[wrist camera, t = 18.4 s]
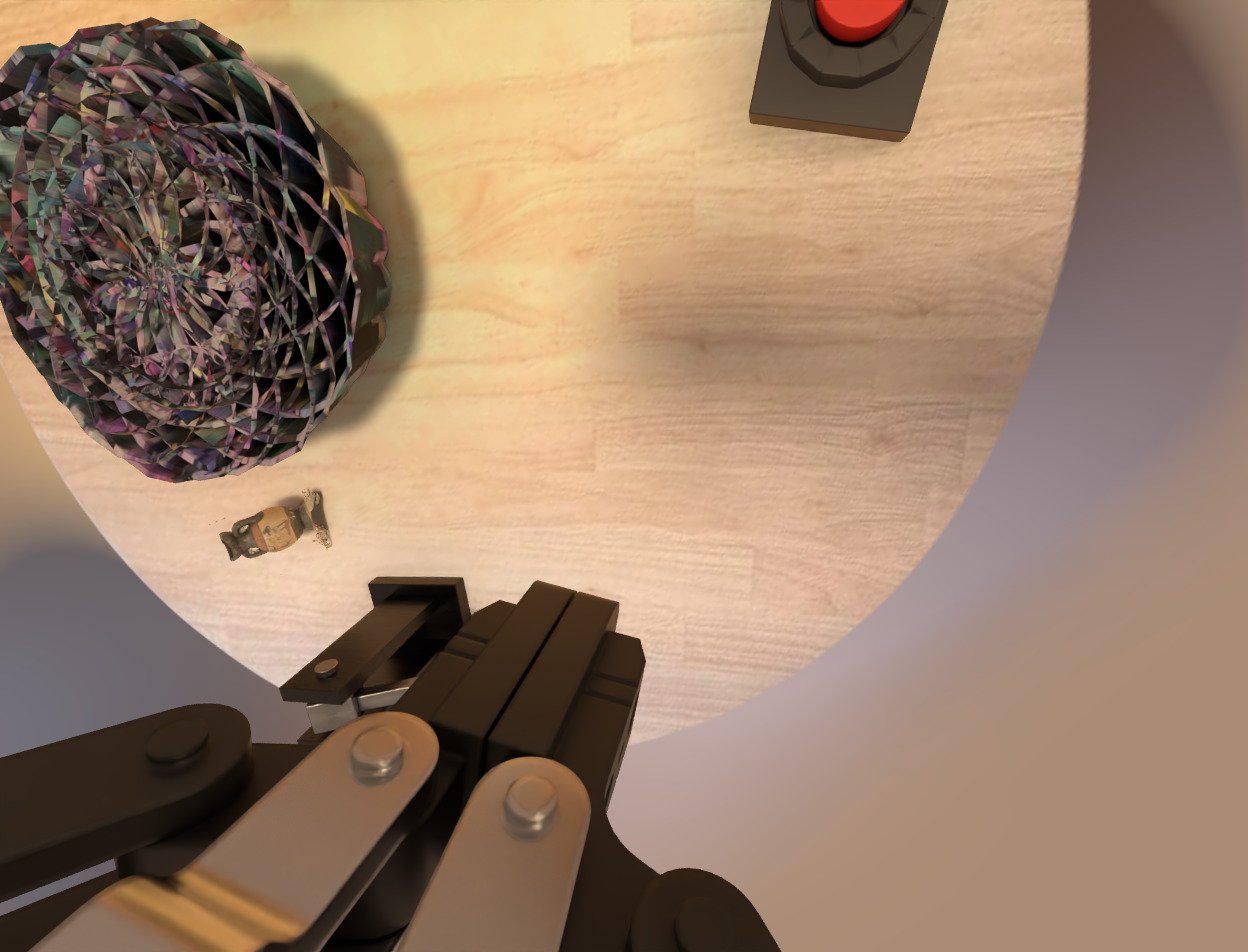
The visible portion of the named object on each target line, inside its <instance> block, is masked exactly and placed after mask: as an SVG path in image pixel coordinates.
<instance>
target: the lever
mask: <svg viewBox="0 0 1248 952" xmlns="http://www.w3.org/2000/svg"><path fill="white" fill-rule="evenodd" d="M417 678H418V677H414V678H409V679H404V680H399V681H394V682H389V683H384V684H379V685H374V686H369V687H363V685H362V686H361V687H360V688H359V689H358V690H357V691H356V692H355V693H354V694H353V695H352V696H351V697H350V698H349V699H348V700H347V701H346V702H345V703H344V704H343V705H330V704H316V703H307V705H306V710H307V713H308V716H309V719H310V722H311V725H312V728H313V731H314V734H319V733H324V732H329V731H334V730H336V729H338V728H339V727H341V726H342V725H344V724H345V723H347V722H349V721H351V720H353V719H356V718H358V717H361V716H363V714H364V711H365V710H369V709H373V708H378V707H383V706H388V705H393V704H395V703H396V702H397V701H398V700H399V699H400V698H401V696H402V695H403V694H404V693H405V692H406V691H407V690H408V688H409V687H410V686H411V685H412V684H413V683H414V682H415V680H416V679H417Z"/></svg>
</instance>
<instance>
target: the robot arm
mask: <svg viewBox="0 0 1248 952" xmlns="http://www.w3.org/2000/svg"><path fill="white" fill-rule="evenodd" d="M618 613H619V602H616V601H612V600H608V599H605V598H601V597H597V596H594V595H590V594H586V593H583V592H578V593H577V591H575V590H571V589H567V588H564V587H560V586H556V585H552V584H549V583H545V582H541V581H538V580H537V581H535V582H534V583H533V584H532V585H531V587H530V588H529V589H528V591H527V592H526V593H525V594H524V596H523V597H522V598H521V600H520V601H519V602H518V604H517V605H516V604H512V603H509V602H505V601H502V600H499V601H497V602H495V603H493V604H491V605H489V606H487V607H485V608H483V609H481V610H479V611H477V612H475V613H474V614H473V615H472V617H471V618H470V619H469V620H468V621H467V622H466V623H465V625H464V626H463V627H462V628H461V629H460V630H459V632H458V635H455V636H454V637H453V638H452V639H451V640H450V642H449V643H448V644H447V645H446V646H445V649H444V651H441V652H440V653H439V654H438V655H437V656H436V658H435V659H434V660H433V661H432V662H431V663H430V664H429V666H428V667H427V668H426V669H425V670H424V671H423V672H422V674H421V675H420V676H419V677H418V678H417V679H416V680H415V682H414V683H413V684H412V685H411V686H410V687H409V688H408V690H407V691H406V692H405V693H404V694H403V695H402V696H401V698H400V699H399V700H398V701H397V702H396V703H395V704H394V706H393V707H392V708H391V709H390V710H389V711H387V712H377V713H372V714H367V715H364V716H361V717H358V718H356V719H353V720H351V721H349V722H347V723H345V724H344V725H342V726H341V727H339V728H338V729H336V730H335V731H334V732H333V733H331V734H330V735H329V736H328V737H327V738H326V739H325V740H324V741H323V742H321V743H320V744H307V745H304V744H268V743H267V744H266V743H252V741H251V732H250V731H251V730H250V724H249V722H248V719H247V718H246V717H245V716H244V715H243V714H242V713H241V712H240V711H238V710H237V709H234V708H232V707H229V706H225V705H220V704H194V705H187V706H183V707H178V708H174V709H170V710H167V711H164V712H160V713H156V714H153V715H150V716H146V717H142V718H139V719H136V720H132V721H128V722H125V723H121V724H118V725H115V726H111V727H107V728H104V729H100V730H97V731H93V732H90V733H86V734H83V735H79V736H76V737H72V738H69V739H65V740H62V741H58V742H55V743H51V744H48V745H44V746H41V747H37V748H34V749H30V750H27V751H23V752H20V753H16V754H13V755H9V756H6V757H2V758H0V903H1V902H4V901H7V900H9V899H12V898H14V897H17V896H19V895H22V894H24V893H27V892H29V891H32V890H35V889H37V888H39V887H42V886H45V885H47V884H50V883H52V882H55V881H57V880H60V879H63V878H65V877H68V876H70V875H73V874H75V873H78V872H80V871H83V870H85V869H88V868H90V867H93V866H96V865H98V864H101V863H103V862H106V861H108V860H111V859H114V861H115V865H116V870H114V871H111V872H109V873H106V874H104V875H101V876H99V877H96V878H94V879H91V880H89V881H86V882H84V883H81V884H79V885H77V886H74V887H71V888H69V889H66V890H64V891H61V892H59V893H57V894H54V895H52V896H49V897H46V898H44V899H42V900H39V901H37V902H34V903H32V904H29V905H27V906H24V907H22V908H19V909H17V910H15V911H12V912H10V913H7V914H4V915H2V916H0V952H781V950H780V948H779V947H778V945H777V943H776V942H775V940H774V938H773V937H772V935H771V934H770V932H769V930H768V928H767V927H766V925H765V923H764V922H763V920H762V918H761V917H760V915H759V913H758V912H757V911H756V909H755V908H754V906H753V905H752V903H751V902H750V901H749V900H748V899H747V898H746V897H745V895H744V894H743V893H742V892H741V891H739V890H738V889H737V888H736V887H735V886H734V885H732V884H731V883H729V882H728V881H726V880H724V879H723V878H722V877H719V876H717V875H715V874H713V873H710V872H707V871H704V870H700V869H692V868H681V869H675V870H671V871H667V872H665V873H663V874H661V875H660V874H658V873H657V872H656V871H654V870H653V869H652V868H650V867H649V866H647V865H646V864H645V863H644V862H642V861H641V860H639V859H638V858H637V857H636V856H635V855H633V854H632V853H631V852H630V851H629V850H628V849H627V848H626V847H625V846H624V845H623V844H622V843H621V842H620V840H619V839H618V837H617V836H616V834H615V833H614V832H613V829H612V827H611V825H610V823H609V821H608V817H607V814H606V813H607V810H608V806H609V803H610V800H611V797H612V793H613V790H614V786H615V783H616V779H617V777H618V774H619V770H620V767H621V764H622V760H623V757H624V754H625V750H626V747H627V744H628V741H629V737H630V734H631V730H632V725H633V721H634V716H635V711H636V706H637V701H638V697H639V692H640V687H641V682H642V678H643V673H644V668H645V663H646V660H645V656H644V653H643V649H642V645H641V641H640V639H638V638H634V637H631V636H627V635H624V634H620V633H616V632H615V629H616V624H617V619H618Z"/></svg>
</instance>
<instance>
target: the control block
mask: <svg viewBox="0 0 1248 952" xmlns="http://www.w3.org/2000/svg"><path fill="white" fill-rule="evenodd" d="M947 3H948V0H905V2H904V4H903V6H902V8H901V10H900V12H899V13H898V15H897V16H896V18H895V19H894V20H893V21H892V23H891V24H890V25H889V26H888V27H887V28H885V29H884V30H883V31H882V32H880V33H879V34H877V35H875V36H874V37H872V38H869V39H867V40H863V41H858V42H847V41H842V40H839V39H837V38H835V37H833V36H832V35H831V34H829V33H828V32H827V31H826V30H825V29H824V27H823V26H822V24H821V22H820V20H819V18H818V15H817V12H816V6H815V0H772V2H771V7H770V12H769V17H768V22H767V27H766V32H765V36H764V41H763V46H762V51H761V56H760V61H759V66H758V71H757V76H756V81H755V86H754V91H753V96H752V100H751V105H750V110H749V114H750V122H751V123H754V124H762V125H770V126H778V127H785V128H793V129H801V130H809V131H817V132H824V133H832V134H840V135H848V136H856V137H863V138H871V139H879V140H887V141H895V142H901V141H902V140H903V139H904V138H905V137H906V136H907V135H908V134H909V132H910V130H911V126H912V123H913V120H914V116H915V113H916V109H917V106H918V102H919V99H920V96H921V92H922V89H923V85H924V82H925V78H926V75H927V72H928V68H929V65H930V61H931V58H932V54H933V51H934V47H935V44H936V41H937V37H938V34H939V30H940V27H941V23H942V20H943V17H944V13H945V10H946V6H947Z"/></svg>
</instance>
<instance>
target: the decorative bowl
mask: <svg viewBox="0 0 1248 952" xmlns="http://www.w3.org/2000/svg"><path fill="white" fill-rule="evenodd" d="M387 252H388V247H387V240H386V233H385V231H384V229H383V228H382V226H381V225H380V223H379V222H378V220H377V219H376V218H375V217H373V216H372V215H371V214H370V213H369V212H367V195H366V188H365V181H364V176H363V175H362V173H361V171H360V170H359V168H358V166H357V165H356V163H355V161H354V160H353V158H352V157H351V156H350V155H349V154H348V153H347V152H346V151H345V150H344V149H343V148H342V147H341V146H340V145H339V144H338V143H337V142H336V141H335V140H334V139H332V138H331V137H330V136H329V135H328V134H327V133H326V132H325V131H324V130H323V129H322V128H321V127H320V126H319V125H318V124H317V123H316V122H315V121H314V120H313V119H312V118H311V117H310V116H309V115H308V114H307V113H306V112H305V111H304V110H303V109H302V107H301V105H300V104H299V102H298V101H297V99H296V97H295V96H294V94H293V93H292V91H291V89H290V88H289V86H287V85H286V84H284V83H282V82H281V81H279V80H278V79H276V78H275V77H273V76H271V75H270V74H268V73H267V72H265V71H263V70H262V69H260V68H259V67H257V66H255V65H254V64H253V62H252V61H251V59H250V58H249V57H248V55H247V54H246V52H245V51H244V49H243V48H242V46H240V45H239V44H237V43H235V42H233V41H232V40H230V39H228V38H227V37H225V36H223V35H222V34H220V33H218V32H216V31H215V30H213V29H211V28H210V27H208V26H206V25H205V24H203V23H201V22H199V21H198V20H196V19H191V20H183V21H175V22H168V23H164V22H162V21H159V20H157V19H154V18H152V17H150V18H147V19H144V20H141V21H138V22H135V23H132V24H129V25H126V26H124V25H122V24H121V23H116V24H110V25H103V26H97V27H91V28H84V29H78V31H77V32H76V33H75V34H74V36H73V37H72V38H71V40H70V41H69V42H68V43H66V44H65V45H63V46H61V47H58V46H55V45H53V44H51V43H45V44H37V45H28V46H20V47H19V48H18V49H17V50H16V52H15V53H14V54H13V55H12V56H11V57H10V59H9V60H8V61H7V62H6V63H5V64H4V66H3V67H2V68H1V69H0V300H1V303H2V306H3V309H4V312H5V314H6V317H7V320H8V323H9V326H10V329H11V331H12V334H13V337H14V338H15V340H16V341H17V342H18V344H19V345H20V346H21V348H22V349H23V350H24V352H25V353H26V355H27V356H28V357H29V359H30V360H31V361H32V363H33V364H34V366H35V367H36V368H37V370H38V371H39V372H40V374H41V375H42V376H44V378H45V379H46V381H47V383H48V384H49V386H50V388H51V389H52V391H53V393H54V394H55V396H56V398H57V399H58V400H59V401H60V402H61V403H62V404H64V405H65V406H66V407H67V408H68V409H69V410H70V411H71V413H72V414H73V416H74V417H75V419H76V420H77V422H78V423H79V424H80V426H81V427H82V429H83V430H84V432H85V433H86V434H87V435H88V436H90V437H91V438H92V439H94V440H95V441H96V442H98V443H99V444H100V445H102V446H103V447H105V448H106V449H107V450H109V451H110V452H111V453H113V454H114V455H115V456H117V457H120V458H123V459H125V460H126V461H128V462H129V463H130V464H131V465H133V466H134V467H135V468H137V469H138V470H139V471H141V472H142V473H143V474H145V475H146V476H147V477H150V478H154V479H159V480H163V481H167V482H172V483H179V482H185V481H190V480H197V481H201V480H207V479H212V478H218V477H224V476H225V475H227V474H230V475H236V476H238V475H240V474H242V473H244V472H246V471H247V470H249V469H251V468H253V467H255V466H257V465H263V466H272V465H274V464H276V463H278V462H280V461H282V460H284V459H286V458H287V457H289V456H291V455H293V454H295V453H297V452H299V451H301V449H302V447H303V445H304V443H305V441H306V439H307V436H308V434H309V433H310V432H311V431H312V430H313V429H314V428H315V427H316V426H317V425H318V424H319V423H321V422H322V421H323V420H324V419H325V418H326V417H327V416H328V413H329V412H330V411H331V410H332V409H333V408H334V407H335V406H336V405H337V403H338V402H339V401H340V400H341V399H342V398H343V397H344V396H345V395H346V394H347V393H348V391H349V389H350V387H351V384H352V383H353V382H354V381H355V380H356V379H357V378H358V377H359V376H360V375H361V374H362V373H363V372H364V371H365V369H366V367H367V364H368V362H369V359H370V357H371V356H372V355H373V354H374V353H375V352H376V351H377V350H378V349H379V347H380V345H381V343H382V342H383V340H384V338H385V337H386V325H385V320H384V317H383V315H382V312H383V311H384V310H385V308H386V307H387V306H388V304H389V300H390V295H391V288H392V286H391V277H390V272H389V271H388V269H387V268H386V267H385V265H384V264H383V263H384V260H385V258H386V255H387Z"/></svg>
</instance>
